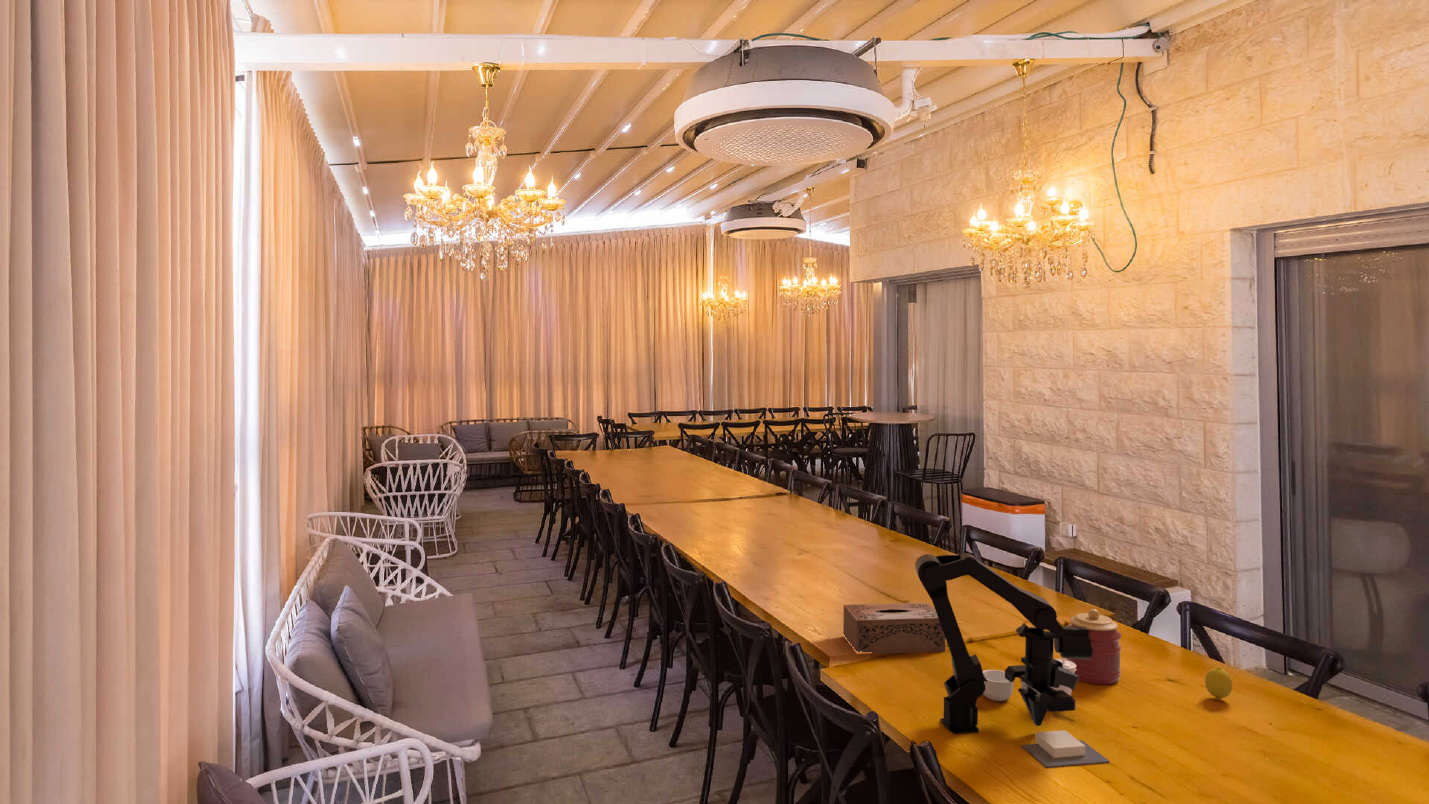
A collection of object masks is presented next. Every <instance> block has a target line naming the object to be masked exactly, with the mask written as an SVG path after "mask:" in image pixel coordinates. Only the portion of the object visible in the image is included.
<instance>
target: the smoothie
mask: <svg viewBox="0 0 1429 804" xmlns="http://www.w3.org/2000/svg"><path fill="white" fill-rule="evenodd" d="M1055 659H1056V660H1058V661H1060V662H1061V663H1062V664H1063V667H1064V668H1066V669H1068V670H1070V671H1071V672H1073V673H1075V671H1076V664H1075V663H1073V662H1071V661H1068V660H1066V658H1062V657H1061V658H1055ZM1051 688H1053V689H1054V690H1056V691H1057V690H1063V691H1064V692H1066V693H1067V694H1069V695H1070V696H1072V691H1073V690H1072V689H1070V688H1069V687H1065V686H1062V685H1060V686H1059V688H1054V687H1051Z"/></svg>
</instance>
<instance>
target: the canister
mask: <svg viewBox="0 0 1429 804" xmlns="http://www.w3.org/2000/svg"><path fill="white" fill-rule="evenodd" d="M1069 621H1070V624H1068V625H1067V626H1066V627H1079V626H1084V627H1086V628H1087V629H1088V630H1089V636H1090V640H1091V646H1092V648H1093V651H1092V657H1091V659H1075V658H1065V660H1068V661H1071V662H1073V663H1075V664H1076V671H1075V673H1074V674H1076V675H1077V676H1079V678H1078V681H1081V682H1084V683H1088V684H1093V685H1113V684H1116V683H1118V682H1119V681H1120V678H1121V668H1120V667H1121V650H1122V647H1121V645H1120V639H1121V638H1122V633H1121V632H1120V631H1119V630H1118V627H1119V625H1118V623H1117V622H1116V621H1114V620H1113V619H1112V618H1110V617H1109V616H1107V615H1103V614H1100V612H1099V610H1098V609H1095V608H1091V609H1090V610H1089V611H1088V612H1080V613H1077V614H1076V615H1073V616H1072V617H1070V618H1069Z"/></svg>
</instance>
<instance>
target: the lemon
mask: <svg viewBox="0 0 1429 804" xmlns="http://www.w3.org/2000/svg"><path fill="white" fill-rule="evenodd" d="M1204 684H1205V688H1206V690H1207V692H1208V693H1209V694H1210V695H1211V696H1212V697H1215V699H1216V700H1221V699H1225V698H1226V697H1227V698H1228V697H1229V696H1230V695H1231V693H1232V690H1233V680H1232V678H1231V675H1230V674H1229V673H1228V671H1226V670H1225V669H1223V668H1222V667H1220V666H1217V667H1213V668H1211V669H1209V670H1208V671H1207V673H1206V675H1205V681H1204Z"/></svg>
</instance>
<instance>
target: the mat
mask: <svg viewBox="0 0 1429 804" xmlns="http://www.w3.org/2000/svg"><path fill="white" fill-rule="evenodd" d="M1077 740H1078V739H1077ZM1078 741H1080V742H1081V743H1082V744H1084V745H1085V755H1084V756H1072V757H1059V758H1054V757H1052V756H1051V755H1050V754H1049V753H1048V752H1047V751H1045V750H1044V749H1043V748H1042V747H1041V746H1040V745H1038V744H1037V743H1029V744H1022V745H1021V747H1022V748H1024V750H1026V752H1028V753H1029V754H1030V755H1031V756H1032V757H1033V758H1034V759H1035V760H1037V762H1039V764H1041V765H1043V766H1044V768H1046V769H1050V768H1051V769H1052V768H1060V767H1071V766H1073V767H1074V766H1085V765H1095V764H1107V763H1110V760H1109V759H1107V758H1106V757H1105V756H1103V755H1102V754H1101V753H1099V752H1098V751H1097V750H1096V749H1094V747H1092V746H1090V745H1089V744H1088V743H1087V742H1085V741H1084V739H1080V740H1078Z"/></svg>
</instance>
